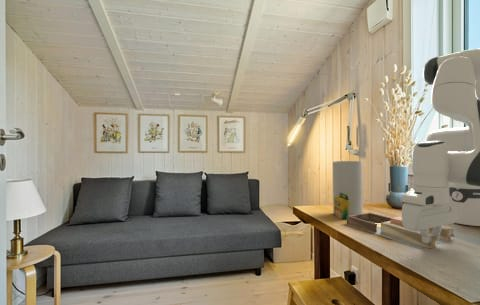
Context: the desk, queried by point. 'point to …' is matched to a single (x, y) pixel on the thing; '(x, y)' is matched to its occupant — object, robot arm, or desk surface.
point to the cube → (397, 221)
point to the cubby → (363, 219)
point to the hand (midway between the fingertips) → (430, 241)
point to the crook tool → (406, 234)
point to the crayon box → (341, 207)
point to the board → (400, 239)
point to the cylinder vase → (348, 184)
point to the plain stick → (443, 233)
